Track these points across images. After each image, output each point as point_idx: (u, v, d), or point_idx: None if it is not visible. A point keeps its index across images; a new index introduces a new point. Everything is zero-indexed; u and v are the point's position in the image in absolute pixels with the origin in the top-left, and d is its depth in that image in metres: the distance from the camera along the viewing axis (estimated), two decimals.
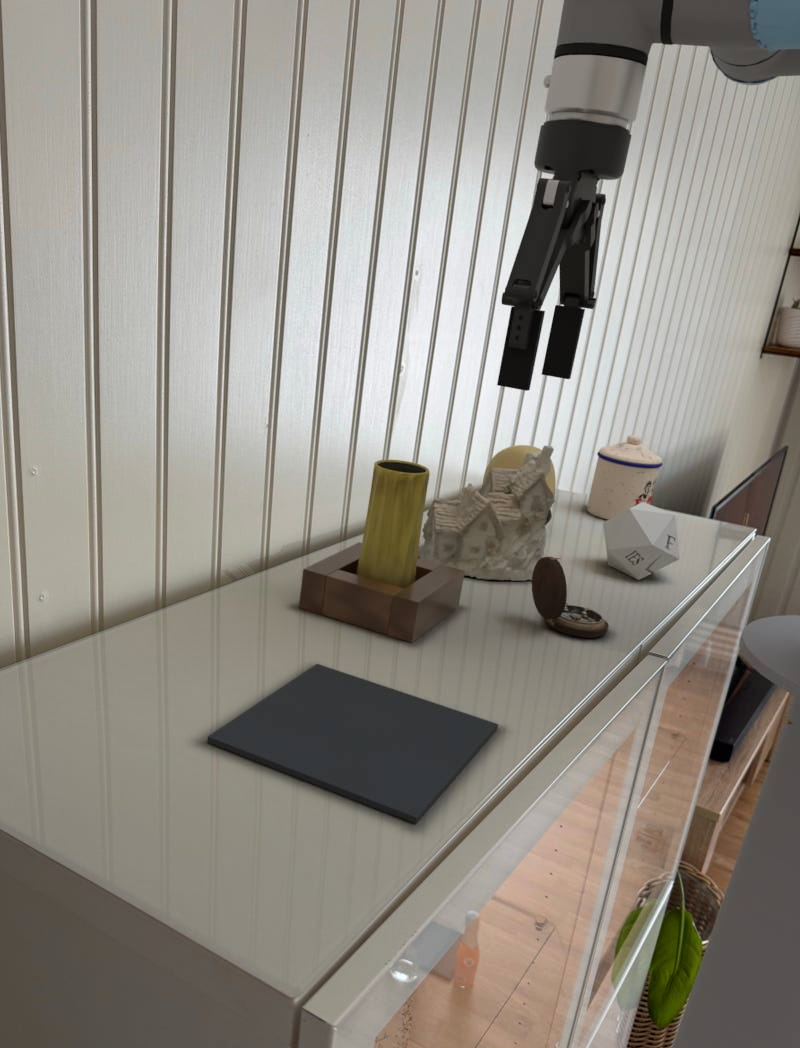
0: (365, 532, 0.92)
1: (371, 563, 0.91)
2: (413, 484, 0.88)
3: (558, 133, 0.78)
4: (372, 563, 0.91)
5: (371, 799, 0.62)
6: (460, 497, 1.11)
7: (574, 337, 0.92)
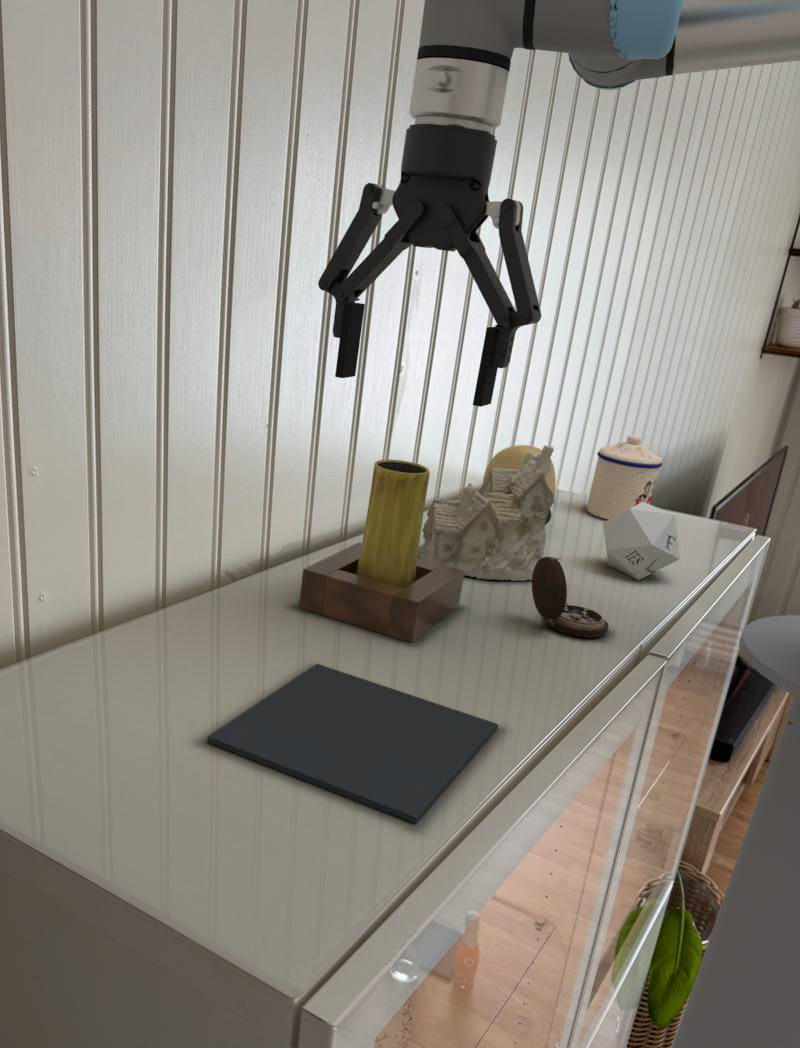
0: (365, 532, 0.92)
1: (371, 563, 0.91)
2: (413, 484, 0.88)
3: (485, 146, 0.77)
4: (372, 563, 0.91)
5: (371, 799, 0.62)
6: (460, 497, 1.11)
7: (359, 333, 0.89)
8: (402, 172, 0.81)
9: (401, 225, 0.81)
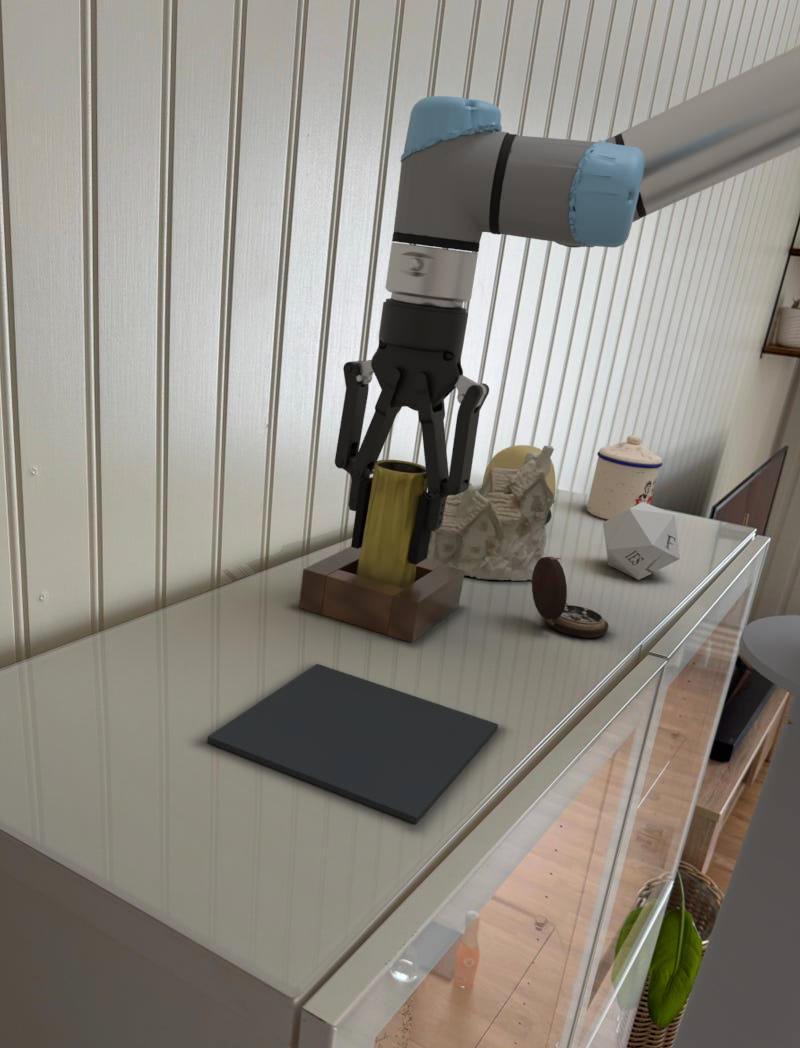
0: (365, 532, 0.92)
1: (371, 563, 0.91)
2: (413, 484, 0.88)
3: (456, 322, 0.82)
4: (372, 563, 0.91)
5: (371, 799, 0.62)
6: (460, 497, 1.11)
7: None
8: (380, 339, 0.86)
9: None
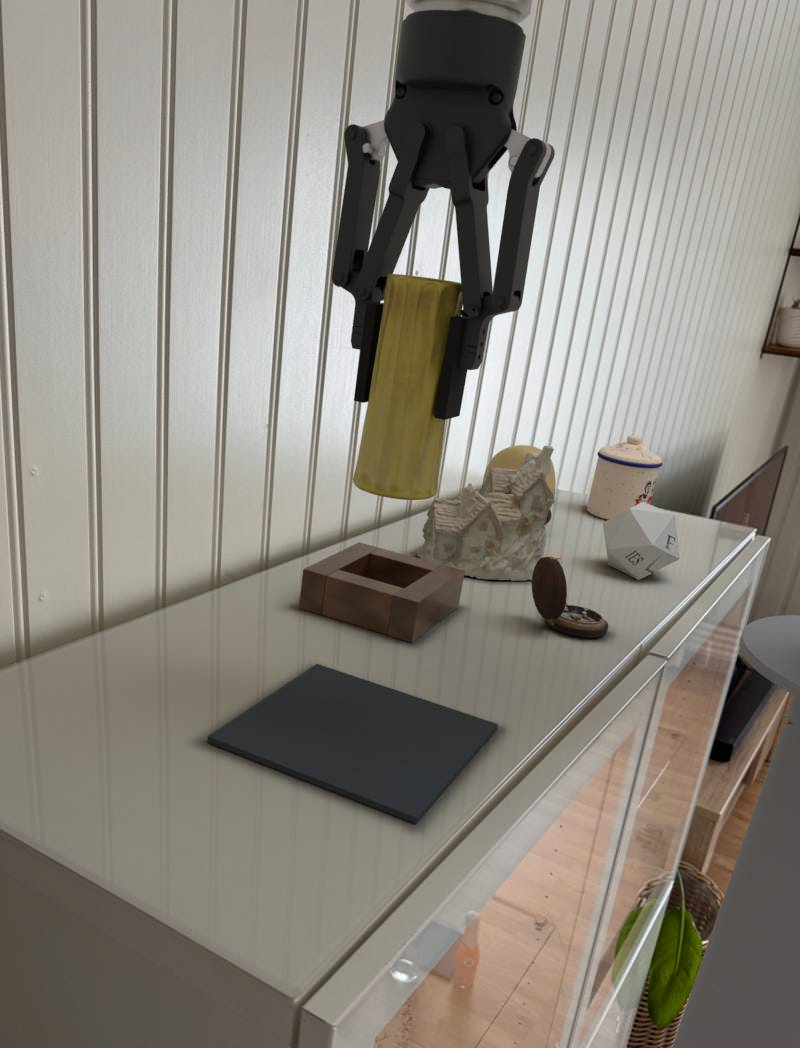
0: (374, 376, 0.65)
1: (381, 420, 0.65)
2: (442, 299, 0.62)
3: (510, 40, 0.56)
4: (383, 419, 0.65)
5: (371, 799, 0.62)
6: (460, 497, 1.11)
7: None
8: (397, 83, 0.60)
9: None
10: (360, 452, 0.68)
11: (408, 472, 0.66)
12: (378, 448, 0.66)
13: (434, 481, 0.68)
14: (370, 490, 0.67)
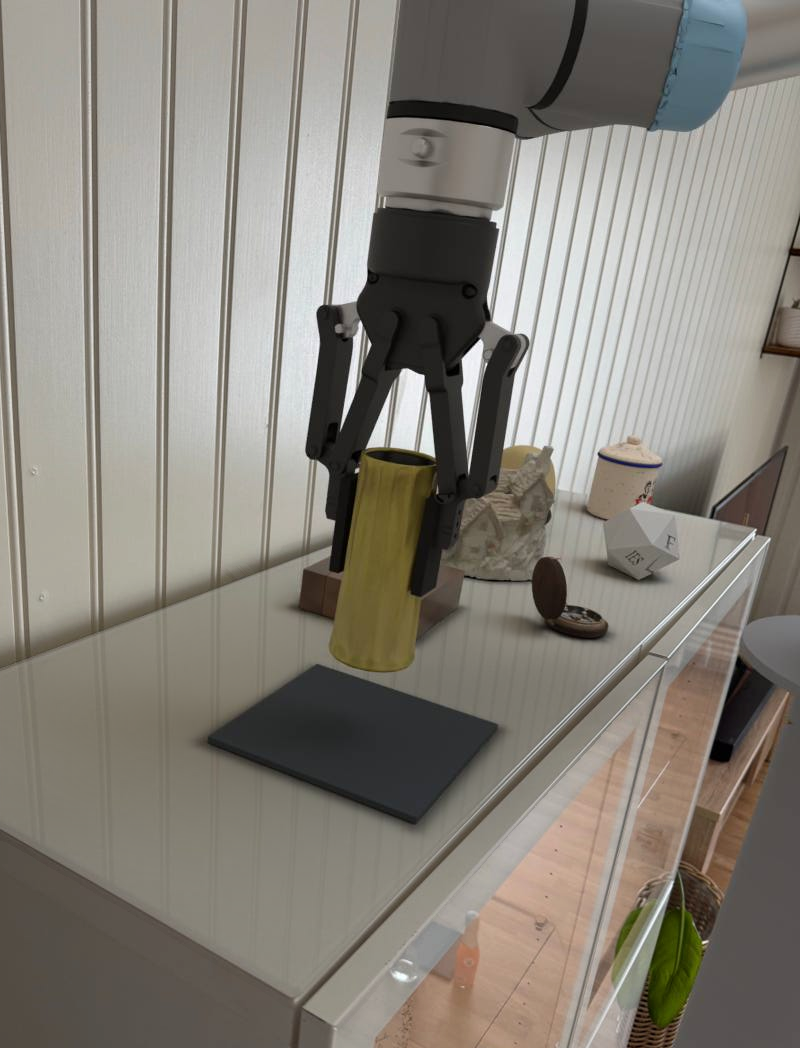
0: (348, 550, 0.64)
1: (356, 595, 0.64)
2: (417, 482, 0.61)
3: (483, 239, 0.55)
4: (358, 595, 0.64)
5: (371, 799, 0.62)
6: None
7: None
8: (369, 269, 0.59)
9: None
10: (335, 621, 0.67)
11: (384, 646, 0.65)
12: (354, 622, 0.65)
13: (411, 650, 0.67)
14: (346, 663, 0.66)
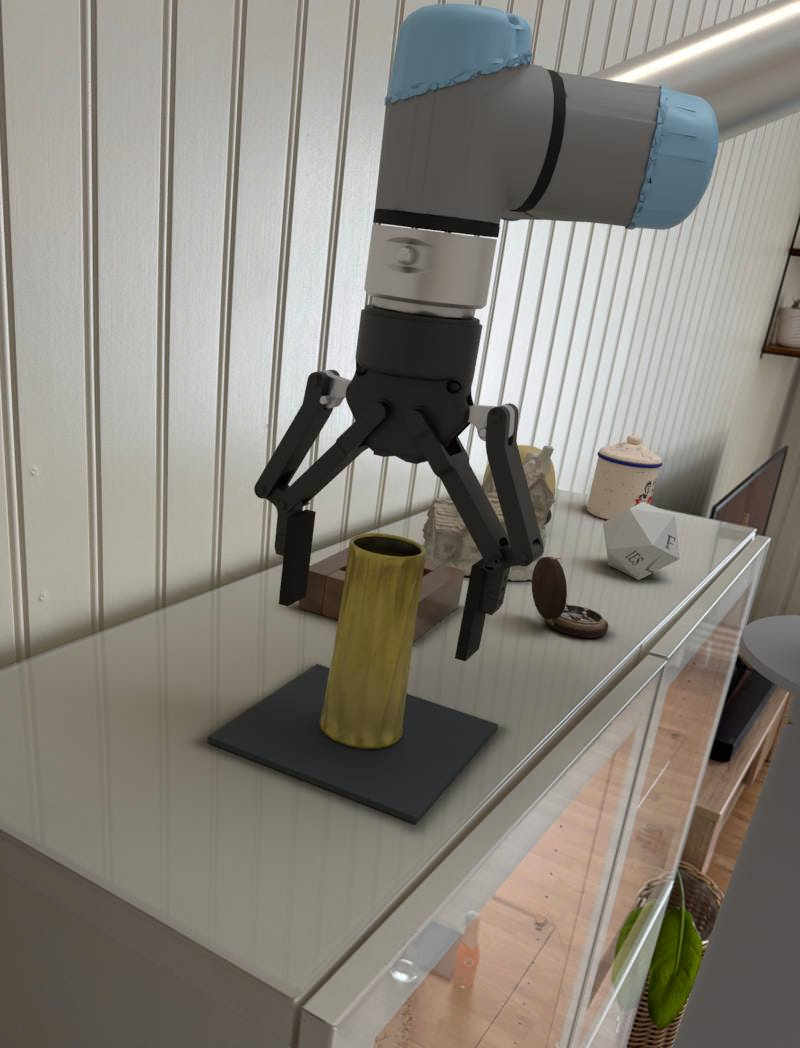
0: (338, 633, 0.67)
1: (346, 676, 0.67)
2: (403, 571, 0.63)
3: (466, 338, 0.57)
4: (347, 676, 0.66)
5: (371, 799, 0.62)
6: None
7: (309, 547, 0.69)
8: (357, 362, 0.61)
9: (357, 430, 0.62)
10: (326, 698, 0.69)
11: (373, 725, 0.67)
12: (343, 702, 0.67)
13: (399, 726, 0.69)
14: (336, 740, 0.68)
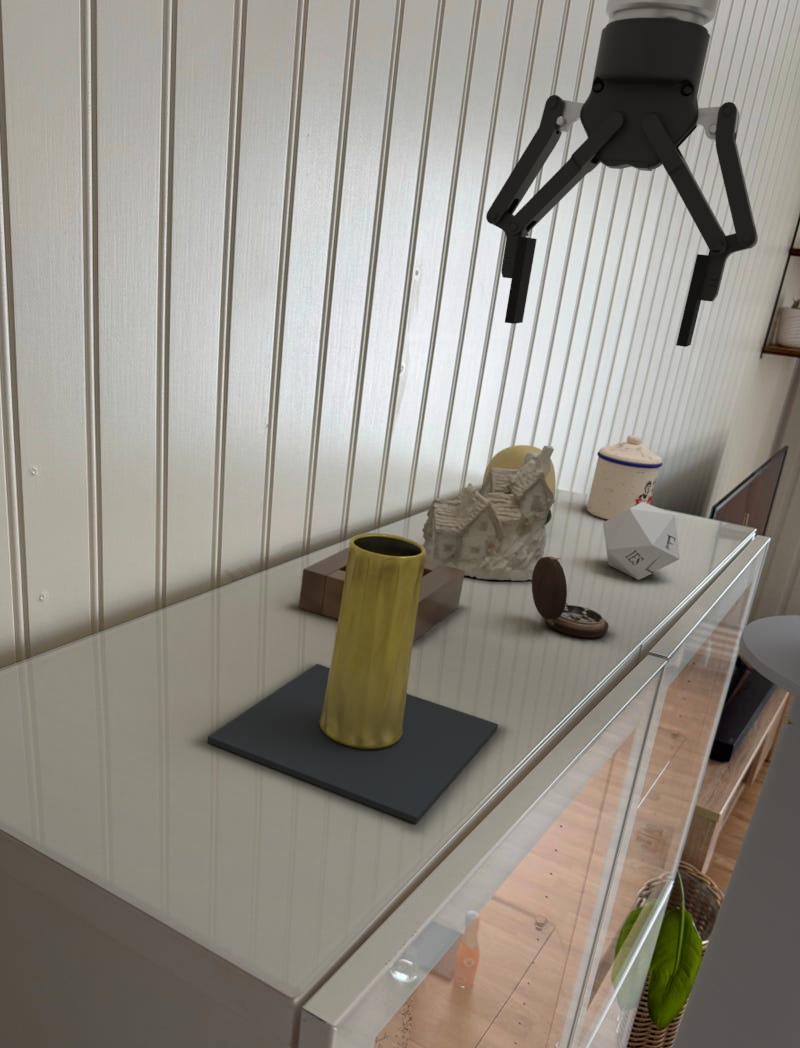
0: (338, 633, 0.67)
1: (345, 676, 0.67)
2: (403, 571, 0.63)
3: (702, 42, 0.67)
4: (347, 676, 0.66)
5: (371, 799, 0.62)
6: (460, 497, 1.11)
7: (529, 273, 0.79)
8: (595, 80, 0.70)
9: (594, 141, 0.71)
10: (326, 698, 0.69)
11: (373, 725, 0.67)
12: (343, 701, 0.67)
13: (399, 726, 0.69)
14: (336, 740, 0.68)
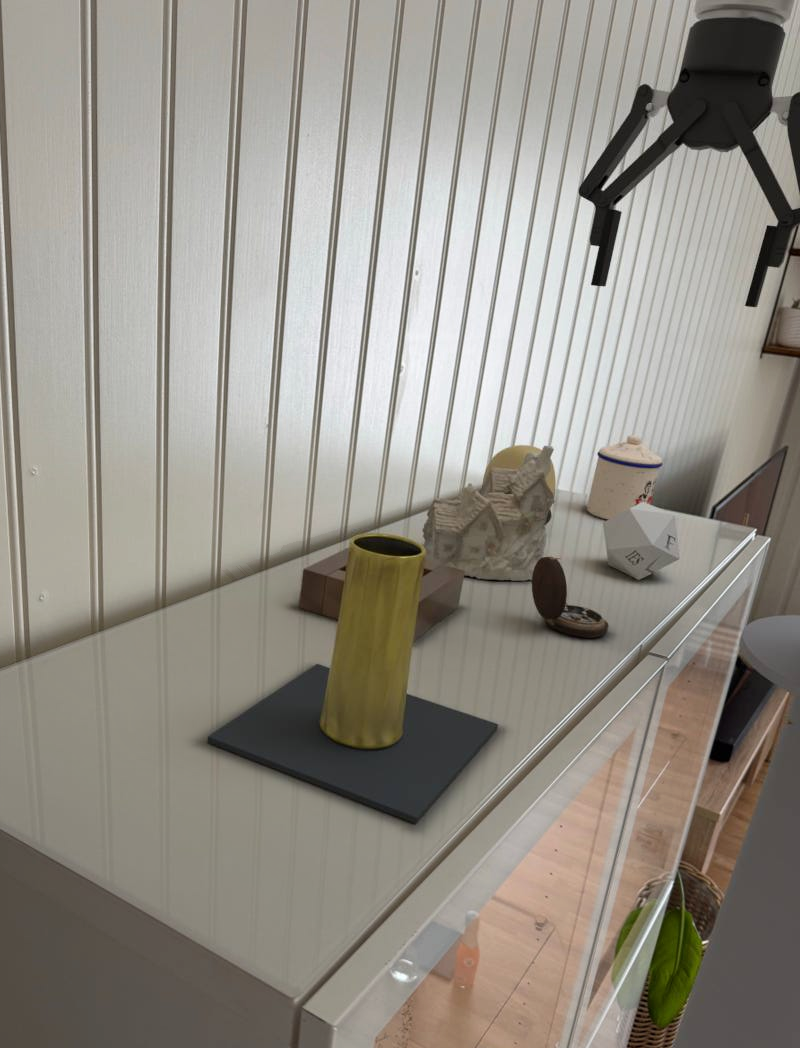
0: (338, 633, 0.67)
1: (346, 676, 0.67)
2: (403, 571, 0.63)
3: (778, 39, 0.77)
4: (347, 676, 0.66)
5: (371, 799, 0.62)
6: (460, 497, 1.11)
7: (614, 242, 0.89)
8: (682, 71, 0.81)
9: (679, 125, 0.82)
10: (326, 698, 0.69)
11: (373, 725, 0.67)
12: (343, 701, 0.67)
13: (399, 726, 0.69)
14: (336, 739, 0.68)
